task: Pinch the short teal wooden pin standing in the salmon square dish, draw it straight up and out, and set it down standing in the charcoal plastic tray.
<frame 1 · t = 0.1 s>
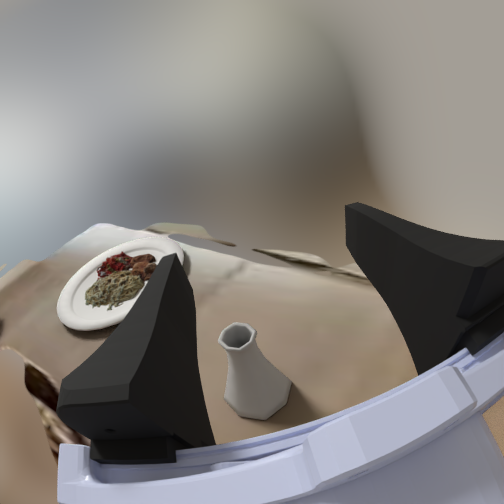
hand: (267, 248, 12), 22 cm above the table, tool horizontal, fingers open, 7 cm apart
flask: (258, 393, 29), on the table
plated food: (119, 283, 54), on the table
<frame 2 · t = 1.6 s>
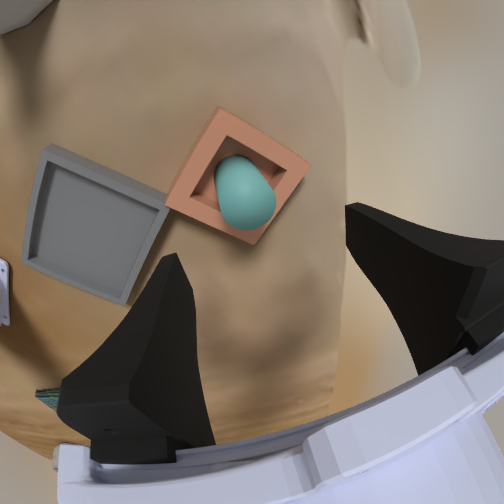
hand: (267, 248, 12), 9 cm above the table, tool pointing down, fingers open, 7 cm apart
teacup: (76, 447, 46), on the table
dish towel: (119, 406, 36), on the table
salmon square dish: (234, 174, 19), on the table
pin: (235, 175, 19), resting on salmon square dish
tray: (88, 227, 19), on the table
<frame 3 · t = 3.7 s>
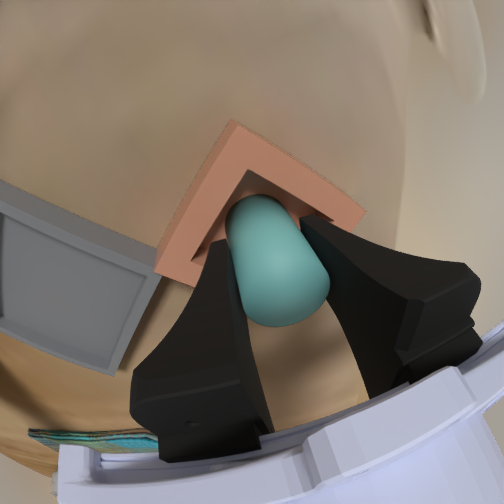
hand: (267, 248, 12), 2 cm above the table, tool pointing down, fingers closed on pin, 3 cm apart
teacup: (75, 472, 40), on the table
dish towel: (118, 446, 30), on the table
salmon square dish: (255, 220, 14), on the table
pin: (256, 223, 13), resting on salmon square dish, touching gripper
tray: (58, 287, 13), on the table
when the fingers open (4 cm above the table, at t = 7.8 s): pin drops 1 cm, resting on tray.
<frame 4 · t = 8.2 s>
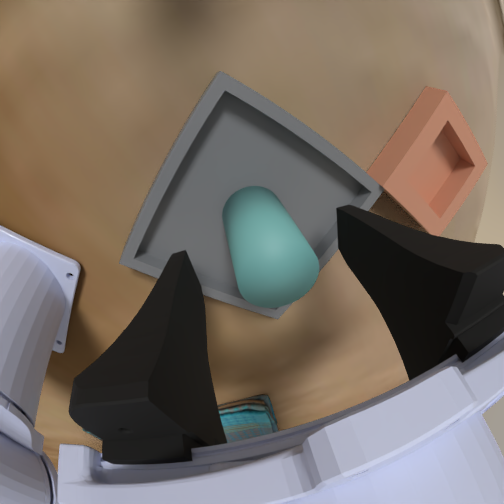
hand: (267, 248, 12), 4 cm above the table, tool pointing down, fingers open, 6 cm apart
dish towel: (189, 432, 31), on the table
salmon square dish: (426, 162, 15), on the table
pin: (252, 214, 14), point 1 cm above the table, touching tray
tray: (250, 208, 15), on the table
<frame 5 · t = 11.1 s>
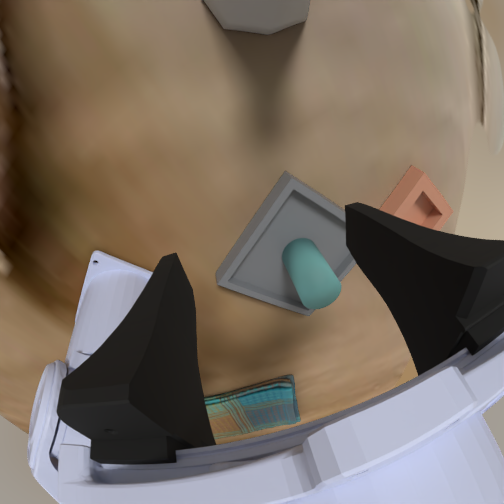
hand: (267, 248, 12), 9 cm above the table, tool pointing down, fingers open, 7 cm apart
dish towel: (225, 411, 41), on the table
salmon square dish: (408, 213, 24), on the table
pin: (299, 253, 23), point 1 cm above the table, touching tray
tray: (297, 249, 24), on the table
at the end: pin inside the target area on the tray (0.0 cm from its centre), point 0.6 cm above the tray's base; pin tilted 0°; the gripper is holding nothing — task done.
